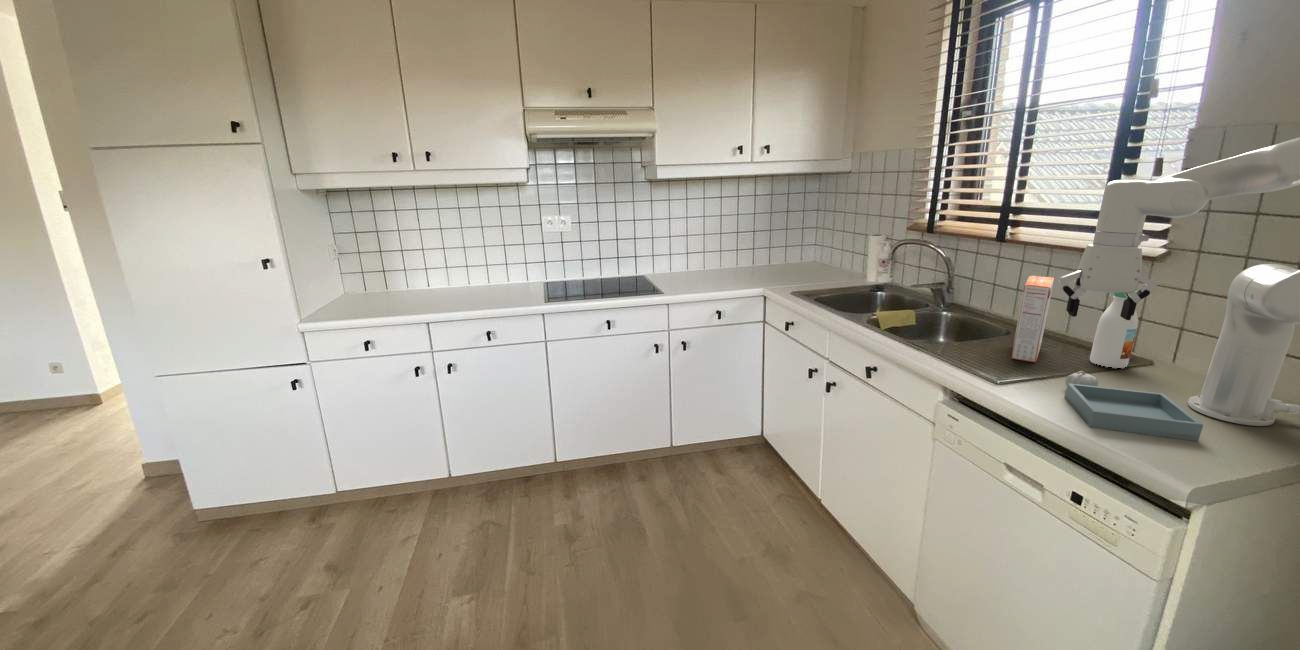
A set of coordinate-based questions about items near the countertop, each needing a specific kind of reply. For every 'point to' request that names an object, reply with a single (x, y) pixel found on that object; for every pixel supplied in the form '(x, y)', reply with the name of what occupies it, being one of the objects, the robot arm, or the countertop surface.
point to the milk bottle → (1114, 336)
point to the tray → (1132, 411)
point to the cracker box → (1032, 318)
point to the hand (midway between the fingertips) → (1098, 316)
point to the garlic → (1081, 379)
